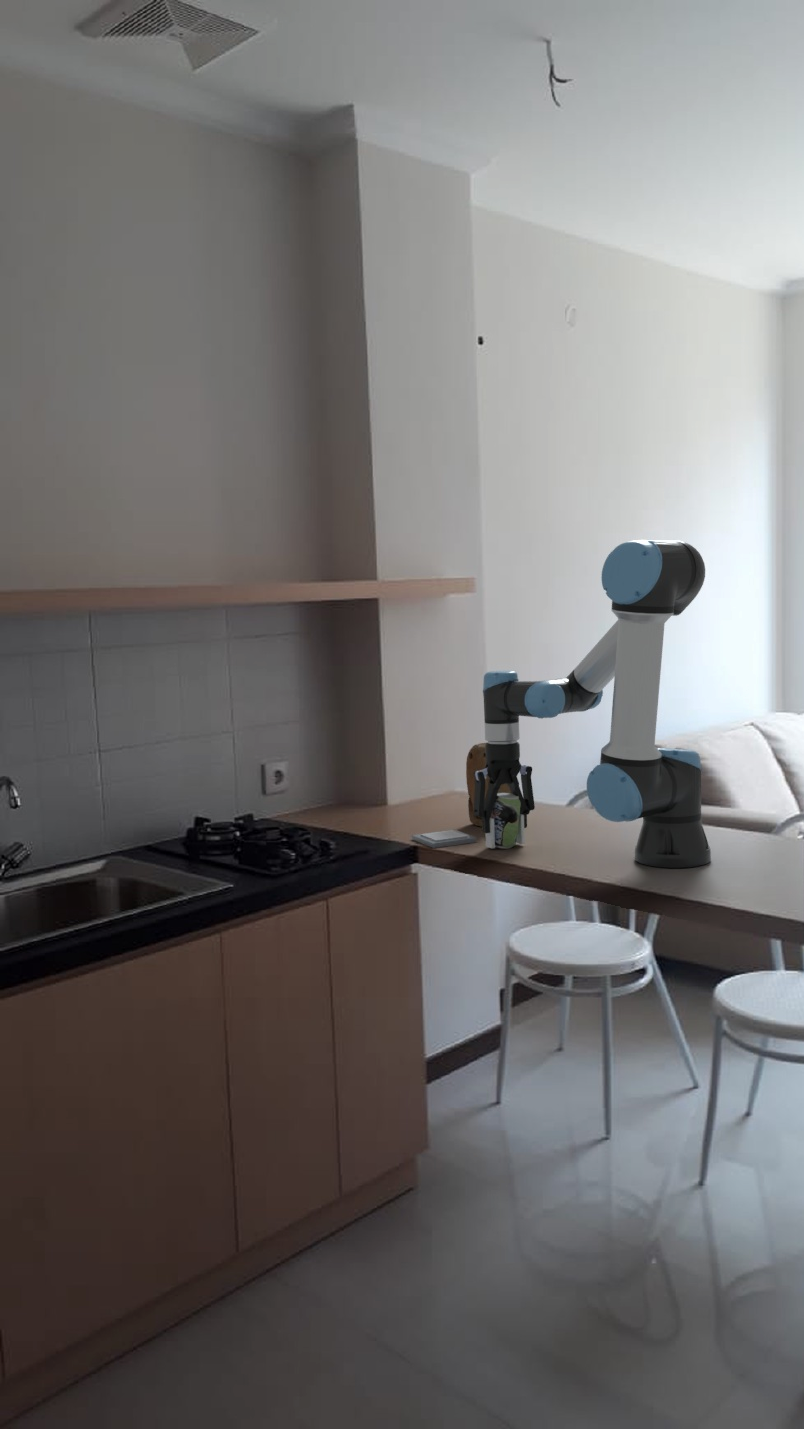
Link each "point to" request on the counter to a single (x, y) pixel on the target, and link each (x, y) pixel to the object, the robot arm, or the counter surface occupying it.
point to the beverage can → (506, 819)
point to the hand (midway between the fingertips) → (505, 844)
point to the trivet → (444, 838)
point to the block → (474, 763)
